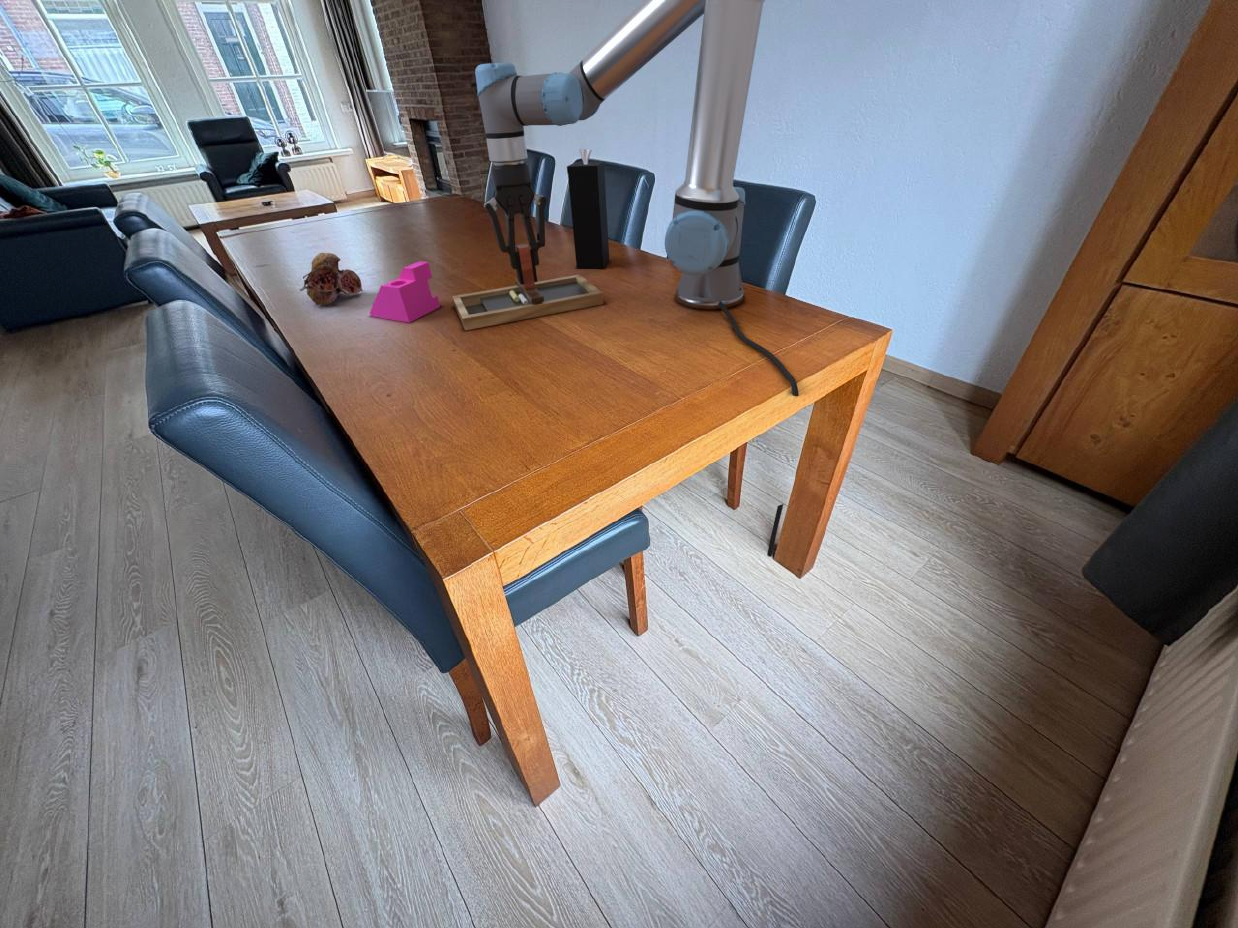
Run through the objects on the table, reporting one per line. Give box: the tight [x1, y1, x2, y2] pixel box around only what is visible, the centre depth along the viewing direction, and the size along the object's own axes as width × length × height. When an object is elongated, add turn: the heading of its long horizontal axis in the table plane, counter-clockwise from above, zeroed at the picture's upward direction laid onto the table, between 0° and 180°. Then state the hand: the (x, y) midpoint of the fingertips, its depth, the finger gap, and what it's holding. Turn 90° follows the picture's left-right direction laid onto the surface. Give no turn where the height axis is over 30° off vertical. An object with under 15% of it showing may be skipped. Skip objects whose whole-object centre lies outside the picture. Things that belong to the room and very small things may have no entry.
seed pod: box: [299, 252, 364, 306], centre depth 122 cm, size 13×16×15 cm
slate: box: [451, 274, 604, 331], centre depth 115 cm, size 16×32×3 cm, turn 113°
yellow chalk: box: [509, 290, 520, 302], centre depth 115 cm, size 5×1×1 cm
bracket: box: [369, 261, 441, 324], centre depth 113 cm, size 12×10×10 cm
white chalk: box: [518, 294, 529, 305], centre depth 113 cm, size 5×1×1 cm, turn 23°
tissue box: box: [566, 148, 610, 269], centre depth 131 cm, size 8×8×28 cm
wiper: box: [515, 243, 544, 304], centre depth 112 cm, size 15×3×11 cm, turn 23°
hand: (527, 281), depth 113 cm, fingers closed on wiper, 2 cm apart
